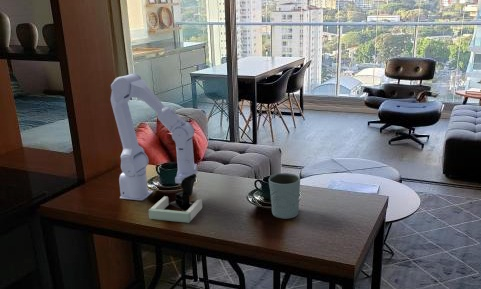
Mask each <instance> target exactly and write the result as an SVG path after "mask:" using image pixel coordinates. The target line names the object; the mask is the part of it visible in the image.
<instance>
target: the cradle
mask: <svg viewBox="0 0 481 289" xmlns="http://www.w3.org/2000/svg"><path fill="white" fill-rule="evenodd" d="M169 203H170V201H169V197H168V196H165V195H164V196H163V197H162V198H161V199H160V200H158V201H157V202H156V203H155V204H154V205H153V206H152V207H150V208H149V209H148V219H149V220H158V221H168V222H169V221H170V222H178V223H179V222H180V223H187V224H189V223H190V222H191V221H192V220H193V219H194V218H196V216H197V214H198V213H199V212H200V211H201V210H202V209H203V199H198V198H197V200H195V201H194V202H193V205H192V206H191V207H190V208H189V209H188V210H186V211H184V210H182V211H180V210H172V209H166V208H167V207H168V206H169V205H170V204H169Z"/></svg>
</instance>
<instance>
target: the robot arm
mask: <svg viewBox="0 0 481 289" xmlns="http://www.w3.org/2000/svg"><path fill="white" fill-rule="evenodd" d="M110 89H111V94H110V103H111V107H112V111H113V115H114V118H115V122H116V127H117V130H118V134H119V138H120V142H121V146H122V152H121V154H120V169H121V173H120V174H119V178H118V182H119V192H120V196H119V199H121V200H123V199H125V200H133V201H134V200H135V201H144V200H145V199H147V198H148V197H149V196H150V195H151V194H153V193H154V192H153V190H149V187H148V186H149V185H148V179H147V178H148V177H147V166H149V161H150V160H149V157H148V155H147V154H146V153H145V149H144V147H142V146H141V145H139V140H138V137H137V134H136V130H135V126H134V123H133V122H134V121H133V118H132V114H131V109H130V107H129V101H130V100H131V98H135V99H137V98H138V99H141V100H142V101H143V102H144V103H145V105H147V106H148V107H149V108H151V109H152V110H153V112H154V113H156V114H157V119H158V121H159V122H160V123H161V124H162V125H163V126H164V127H165V128H166V129H167V130H168V131H169V132H170V133H171V138H172V141H174V143H175V150H176V162H177V172H176V176H175V177H174V182H175V184H179V185H180V186H181V189H182V192H185V193H187V194H188V196H189V197H191V196H192V195H193V189H194V184H195V181H196V179H197V174H198V173H199V171H198V164H197V163H195V158H194V157H195V156H194V144H193V137H194V135H195V127H194V126H193V124H192V123H190V122H188V121H185V120H184V119H182V117H180V115H178V114H177V113H176V109H174V108H171V107H168V106H165V105H164V104H163V103H162V102H161V101H160V99H159V98H158V97H157V96H156V95H155V93H154V92H153V91H152V90H151V89H150V88H149V86H148V85H147V83H146V80H145V79H143V78H142V77H141V76H140V75H139V74H138V73H134V72H132V73H129V74H127V75H123V76H118V77H115V79H113V81H112V83H111V84H110Z"/></svg>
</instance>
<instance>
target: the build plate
mask: <svg viewBox="0 0 481 289" xmlns="http://www.w3.org/2000/svg"><path fill="white" fill-rule="evenodd" d="M174 197H175V199H174V201H171V202H169V205H172V206H174V208H178V209H180V210H182V211H184V212H186V211H187V210H188V209H189V208H190V207H191V206H192V205H193V204H194V202H193V203H192V202H191V201H190V196H188V194H187V193H185V192H184V191H183V190H182V191H179V192H177V193H175V194H174Z"/></svg>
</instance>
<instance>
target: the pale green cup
mask: <svg viewBox="0 0 481 289" xmlns="http://www.w3.org/2000/svg"><path fill="white" fill-rule="evenodd" d="M300 185H301V177H300V176H299V175H297V174H295V173H288V172H283V173H282V172H281V173H275V174H273V175H270V176H269V178H268V187H269V192H270V203H271V213H272V215H273V217H275V218H278V219H287V220H288V219H293V218H296V217H297V216H298V215H299V212H300V211H299V210H300V207H299V205H300V202H299V201H300V193H301V192H300V190H301V189H300V187H301V186H300Z"/></svg>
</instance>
